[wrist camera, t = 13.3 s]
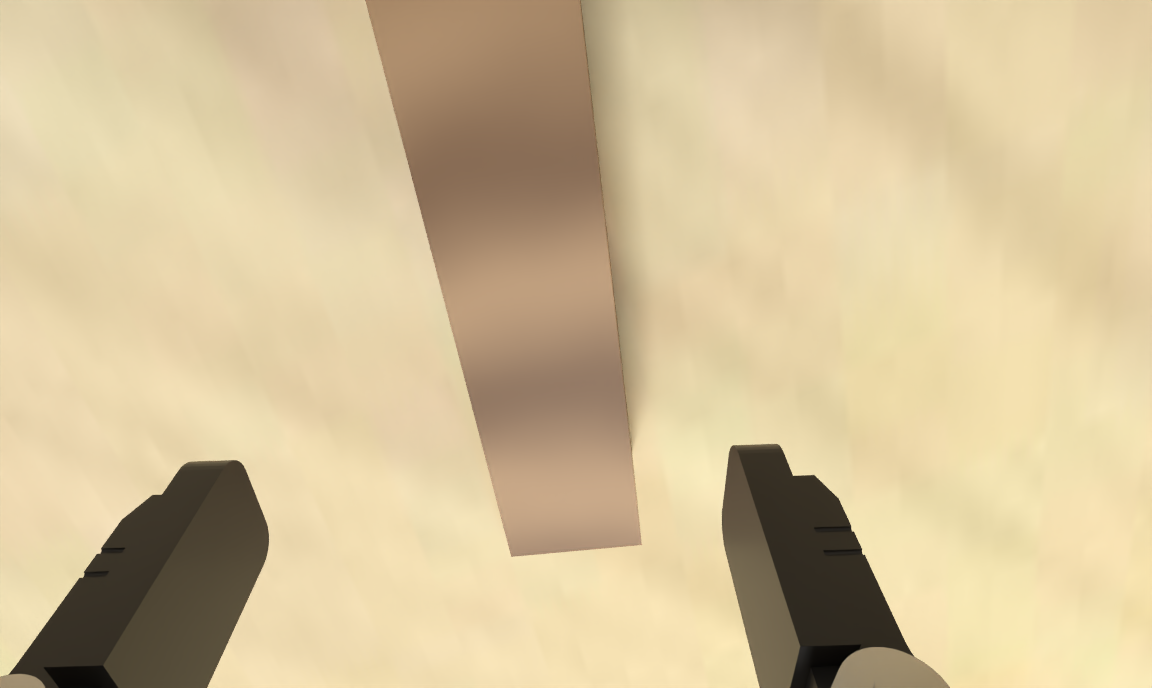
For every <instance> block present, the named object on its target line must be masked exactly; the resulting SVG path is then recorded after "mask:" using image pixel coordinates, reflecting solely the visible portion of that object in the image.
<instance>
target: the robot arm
mask: <svg viewBox="0 0 1152 688" xmlns="http://www.w3.org/2000/svg"><path fill="white" fill-rule="evenodd" d="M722 531H723V540H724V546H725V551H726V555H727V559H728V563H729V567H730V571H731V575H732V579H733V583H734V587H735V591H736V595H737V599H738V603H739V607H740V611H741V615H742V619H743V623H744V627H745V631H746V635H747V639H748V643H749V647H750V651H751V655H752V658H753V662H754V666H755V670H756V674H757V678H758V682H759V686H760V688H950V687H949V686H948V684H947V683H946V682H945V681H944V680H943V678H942V677H941V676H940V675H939V674H938V673H936V672H935V671H934V670H933V669H932V668H931V667H929V666H928V665H927V664H925V663H924V662H922V661H921V660H919V659H917V658H916V657H914V655H913V654H912V653H911V651H910V650H909V648H908V646H907V644H906V642H905V640H904V638H903V636H902V634H901V632H900V630H899V627H898V625H897V623H896V621H895V619H894V617H893V615H892V612H891V610H890V608H889V606H888V604H887V602H886V600H885V597H884V595H883V593H882V591H881V589H880V587H879V585H878V582H877V580H876V578H875V576H874V574H873V572H872V570H871V567H870V565H869V563H868V561H867V559H866V557H865V555H863V554H862V548H861V546H860V544H859V542H858V540H857V537H856V535H855V533H854V532H852V530H851V525H850V522H849V520H848V518H847V516H846V514H845V512H844V510H843V507H842V505H841V503H840V501H839V499H838V498H837V497H836V496H835V495H834V494H833V493H832V492H831V491H830V490H829V489H828V488H827V487H826V486H825V485H824V484H823V483H822V482H821V481H820V480H819V479H818V478H817V477H816V476H815V475H806V476H793V475H792V472H791V470H790V467H789V465H788V462H787V460H786V457H785V455H784V453H783V450H782V448H781V447H780V446H779V445H778V444H763V445H733V446H732V447H731V449H730V452H729V459H728V467H727V475H726V484H725V492H724V500H723V509H722ZM268 545H269V533H268V526H267V523H266V520H265V518H264V515H263V513H262V510H261V508H260V505H259V503H258V500H257V498H256V495H255V492H254V490H253V487H252V485H251V482H250V480H249V477H248V475H247V472H246V470H245V468H244V466H243V465H242V463H240V462H239V461H236V460H229V461H198V462H188V463H186V464H184V465H183V466H182V467H181V468H180V470H179V471H178V472H177V474H176V475H175V477H174V478H173V480H172V481H171V483H170V484H169V485H168V487H167V488H166V490H165V491H164V493H163V494H162V495H152V496H151V497H150V498H148V499H147V500H146V501H145V502H143V503H142V504H141V505H140V506H138V507H137V508H136V509H135V510H134V511H132V512H131V513H130V514H129V515H127V516H126V517H125V518H124V519H122V520H121V522H120V523H119V525H118V526H117V527H116V529H115V530H114V531H113V533H112V534H111V536H110V537H109V538H108V540H107V541H106V542H105V544H104V545H103V547H102V548H101V549H102V551H101V554H97V555H96V556H95V558H94V559H93V560H92V562H91V563H90V564H89V566H88V567H87V569H86V570H85V571H84V573H85V574H84V577H83V578H79V580H78V581H77V582H76V584H75V585H74V586H73V588H72V589H71V591H70V592H69V593H68V595H67V596H66V597H65V599H64V600H63V602H62V603H61V604H60V606H59V607H58V608H57V610H56V611H55V613H54V614H53V615H52V617H51V618H50V619H49V621H48V622H47V624H46V625H45V626H44V628H43V629H42V630H41V632H40V633H39V635H38V636H37V637H36V639H35V640H34V641H33V643H32V644H31V646H30V647H29V648H28V650H27V651H26V652H25V654H24V655H23V657H22V658H21V659H20V661H19V662H18V663H17V665H16V666H15V667H14V669H13V670H12V671H11V672H10V674H9V675H6V676H1V677H0V688H207V687H208V684H209V682H210V680H211V678H212V676H213V674H214V671H215V669H216V667H217V665H218V663H219V661H220V658H221V656H222V654H223V652H224V650H225V647H226V645H227V643H228V641H229V639H230V637H231V634H232V632H233V630H234V628H235V626H236V624H237V621H238V619H239V617H240V615H241V613H242V611H243V608H244V606H245V604H246V602H247V600H248V598H249V595H250V593H251V591H252V589H253V587H254V585H255V582H256V580H257V578H258V576H259V574H260V572H261V569H262V567H263V565H264V562H265V560H266V556H267V552H268Z"/></svg>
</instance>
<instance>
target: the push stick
mask: <svg viewBox="0 0 1152 688" xmlns="http://www.w3.org/2000/svg"><path fill="white" fill-rule="evenodd" d="M366 4H367V8H368V12H369V15H370V19H371V23H372V27H373V31H374V35H375V38H376V42H377V46H378V50H379V54H380V57H381V61H382V65H383V69H384V73H385V76H386V80H387V84H388V88H389V92H390V96H391V99H392V103H393V107H394V111H395V115H396V118H397V122H398V126H399V130H400V134H401V137H402V141H403V145H404V149H405V153H406V157H407V160H408V164H409V168H410V172H411V176H412V179H413V183H414V187H415V191H416V195H417V198H418V202H419V206H420V210H421V214H422V218H423V221H424V225H425V229H426V233H427V237H428V240H429V244H430V248H431V252H432V256H433V259H434V263H435V267H436V271H437V275H438V279H439V282H440V286H441V290H442V294H443V298H444V301H445V305H446V309H447V313H448V317H449V320H450V324H451V328H452V332H453V336H454V340H455V343H456V347H457V351H458V355H459V359H460V362H461V366H462V370H463V374H464V378H465V381H466V385H467V389H468V393H469V397H470V401H471V404H472V408H473V412H474V416H475V420H476V423H477V427H478V431H479V435H480V439H481V442H482V446H483V450H484V454H485V458H486V462H487V465H488V469H489V473H490V477H491V481H492V484H493V488H494V492H495V496H496V500H497V503H498V507H499V511H500V515H501V519H502V523H503V526H504V530H505V534H506V538H507V542H508V545H509V549H510V553H511V557H513V556H524V555H535V554H546V553H557V552H568V551H579V550H590V549H601V548H612V547H623V546H634V545H642V543H641V534H640V524H639V515H638V506H637V496H636V487H635V478H634V468H633V459H632V450H631V441H630V432H629V423H628V414H627V406H626V397H625V388H624V379H623V370H622V362H621V353H620V344H619V335H618V326H617V318H616V309H615V300H614V291H613V282H612V274H611V265H610V256H609V247H608V238H607V230H606V221H605V212H604V203H603V194H602V185H601V177H600V168H599V159H598V150H597V141H596V133H595V124H594V115H593V106H592V97H591V89H590V80H589V71H588V62H587V53H586V45H585V36H584V27H583V18H582V9H581V1H580V0H366Z"/></svg>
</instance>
